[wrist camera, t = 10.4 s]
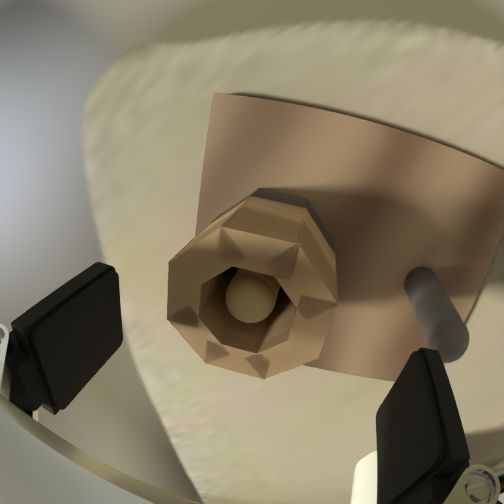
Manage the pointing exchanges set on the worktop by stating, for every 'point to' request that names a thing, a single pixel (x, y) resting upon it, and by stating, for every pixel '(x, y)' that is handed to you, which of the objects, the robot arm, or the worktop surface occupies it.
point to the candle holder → (365, 480)
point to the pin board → (363, 225)
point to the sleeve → (262, 261)
